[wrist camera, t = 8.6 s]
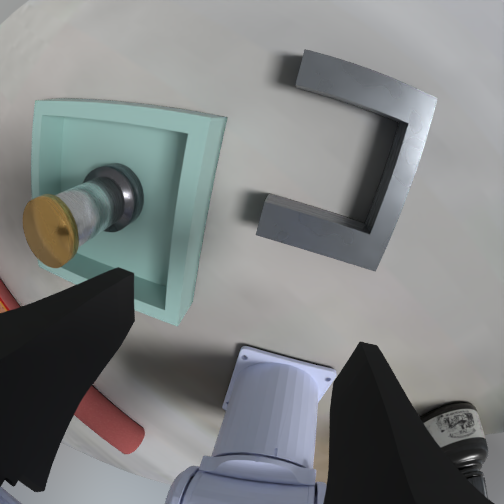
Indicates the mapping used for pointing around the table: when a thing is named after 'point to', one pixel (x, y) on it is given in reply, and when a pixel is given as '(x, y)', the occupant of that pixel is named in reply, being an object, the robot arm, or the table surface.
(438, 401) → the table surface
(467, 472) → the ink bottle
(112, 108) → the tray
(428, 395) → the table surface
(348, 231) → the bracket
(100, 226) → the glass jar
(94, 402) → the blood vessel
